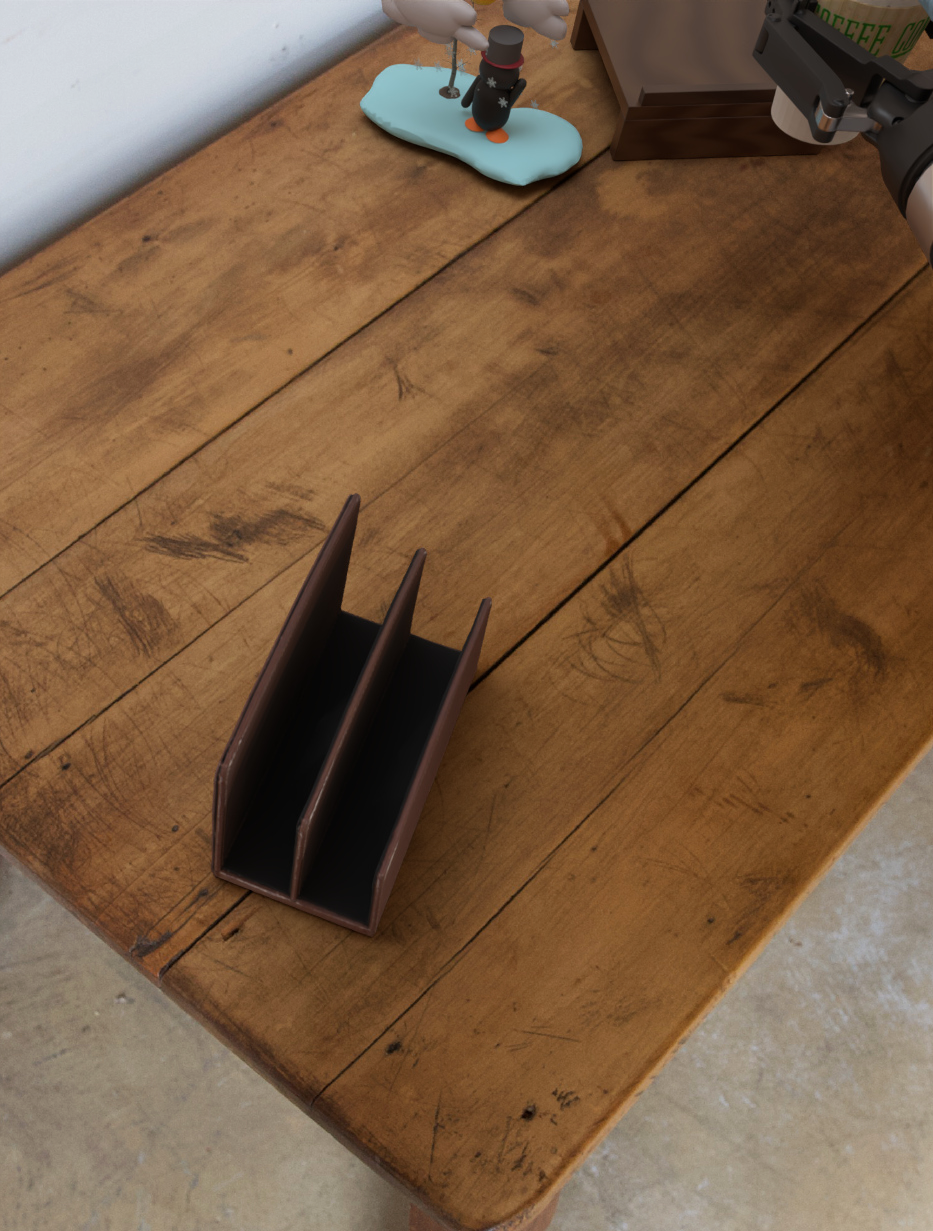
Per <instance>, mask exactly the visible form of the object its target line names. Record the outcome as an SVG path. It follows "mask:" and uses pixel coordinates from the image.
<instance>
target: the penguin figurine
mask: <svg viewBox="0 0 933 1231" xmlns="http://www.w3.org/2000/svg"><path fill="white" fill-rule="evenodd" d="M380 1H381V9H382V13H384V14H385V15H386V16H387V17H388V18H389V19H391V20H393V21H395V22H396V23H399V24H400V25H403V26H407V27H411V28H412V27H413V28H414V27H415V28H417V34H418V35H419V36H420V37H422V38H424V39H426V40H427V41H429V42H430V43H434V44H437V45H443V46H444V47H445V46H446V47H445V50H446V51H444V54H446V55H447V56H449V57H447V58H448V60H449V59H450V57H451V61H448V60H447V62H449V63H450V64H451V68H450V67H449V68H448V67H444V66H443V65H441V63H440V62H441V61H437V62H436V61H434V63H433V64H434V66H423V63H420V58H417V60H416V59H415V58H413V62H414V64H409V63H397V64H392V65H389V66H387V67H386V68H384V69H383V70H382V71H381V72H379V74H378V75H376V77H375V79H374V80H373V83H372V85H371V88H370V89H369V90H368V92H367V93H365V94H364V96H363V97H362V98H361V100H360V101H359V106H360V109H361V111H362V112H363V114H364V115H365V116H366V117H367V118H368V119H369V120H370V121H372V122H373V123H374V124H376V125H377V126H378V127H379V128H381V129H383V131H385V132H387V133H388V134H390V135H392V136H394V137H397V138H399V139H401V140H402V141H406V142H408V143H411V144H414V145H417V146H420V147H424V148H427V149H430V150H432V151H433V150H434V151H436V152H439V153H442V154H445V155H448V156H452V157H454V158H456V159H457V160H459V161H462V162H464V163H466V164H467V165H469V166H470V167H472V168H473V169H474V170H475V171H477V172H479V173H480V174H482V175H483V176H485V177H488V178H490V179H492V180H495V181H498V182H500V183H505V184H507V185H513V186H518V187H519V186H520V187H524V186H527V185H529V184H530V185H531V184H532V183H534V182H537V181H541V180H545V179H550V178H554V177H558V176H560V175H562V174H564V173H566V172H568V171H569V170H570V169H571V168H572V167H574V166H575V165H576V164H577V163H578V162H579V161H580V160H581V159H580V158H582V156H583V154H582V152H583V149H584V146H583V139H582V137H581V135H580V132H579V131H578V129H577V128H576V127H575V126H574V125H573V124H572V123H571V122H569V121H567V120H566V119H564V118H563V117H560V116H559V115H557V114H554V113H552V112H549V111H547V110H542V109H539V108H538V106H540V104H537V99H535V100H534V101H533V100H530V102H531V103H530V106H532V107H513V106H514V105H515V104H516V102H517V101H518V99H519V97H520V96H523V92H524V91H525V89H526V88H527V85H528V82H527V80H526V79H525V78H523V77H522V78H520V72H521V71H522V69H523V65H524V63H525V57H524V55H523V53H522V50H523V45H524V41H525V40H524V39H525V32H524V31H522V29H520V28H519V27H522V28H529V29H530V28H531V29H532V30H533V31H535V32H536V33H537V34H539V35H541V36H543V37H544V38H548V39H549V40H550V43H551V50H552V49H554V48H555V49H558V46H557V45H559V42H558V41H562V40H564V39H565V38H566V35H567V32H568V24H567V22H566V20H564V18H563V17H568V16H569V14H570V6H569V5H570V4H569V3H568V1H567V0H501V1H502V12H503V17H504V19H505V20H506V21H508V22H510V23H512V24H514V25H516V26H514V25H510V24H499V25H496V26H492V27H491V29H489V32H488V36H487V37H488V38H487V37H486V36H485V35H484V34H483V33H482V32H481V31H480V30H478V29H477V28H476V27H475V25H476V22H477V23H479V21H482V20H483V18H481V19H478V15H479V14H478V11H479V9H475V4H476V5H479V6H489V5H492V4H494V3H495V2H496V1H497V0H470V1H471V4H472V5H471V4H469V3H468V2H467V1H465V0H380ZM478 20H479V21H478ZM479 25H480V26H482V23H479ZM517 26H519V27H517ZM458 42H460V43H462V44H464V45H465V46H467V47H468V48H467V50H466V51H468V52H470V54H469V55H470V57H472V55H474V56H477V53H476V52H477V51H478V52H479V51H480V56H481V61H480V62H479V67H478V75H477V76H476V75H473V74H471V73H468V72H467V69H466V68H465V66H466V63H467V64H469V65H471V63H470V62H468V61H465V60H463V59H460V60H457V55H458V56H459V54H460V53H461V52H458V51H457V50H458ZM443 61H444V62H446V59H442V62H443ZM464 61H465V62H464Z"/></svg>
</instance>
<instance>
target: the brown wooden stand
mask: <svg viewBox="0 0 933 1231" xmlns="http://www.w3.org/2000/svg"><path fill="white" fill-rule="evenodd" d="M766 4H767V0H579V1H578V6H577V10H576V13H575V19H574V22H573V26H572V31H571V35H570V39H569V40H570V44H571V46H572V49H573V50H574V51H575V50H576V51H577V50H579V51H580V50H598V51H599V54H600V57H601V59H602V62H603V64H604V68H605V70H606V72H607V75H608V78H609V81H610V84H611V86H612V89H613V92H614V94H615V96H616V100H617V102H618V104H619V105H618V106H619V107H620V111H619V114H618V118H617V121H616V124H615V129H614V132H613V136H612V139H611V143H610V146H609V152H610V155H611V158H612V160H613V161H637V160H638V161H639V160H640V161H641V160H643V161H644V160H668V159H669V160H670V159H673V160H674V159H697V158H699V159H700V158H730V157H731V158H733V157H760V156H762V157H763V156H789V155H790V156H793V155H819V154H820V153H821V150H822V147H823V146H824V145H819V144H812V143H808V142H804V141H801V140H799V139H796V138H794V137H792V136H790V135H788V134H786V133H785V132H784V131H782V130H781V129H780V128H779V127H778V126H777V125H776V124H775V122H774V120H773V119H772V115H771V108H772V104H773V100H774V97H775V93H776V89H777V84H776V83H775V82H774V81H773V79H772V78H771V77H770V76H769V75H768V74H767V72H766V71H765V70H764V69H763V68H762V67H761V65H760V64H759V63H758V62H757V61H756V60H755V59H754V57H753V56H752V53H753V50H754V47H755V44H756V42H757V39H758V36H759V33H760V31H761V28H762V25H763V22H764V20H765V17H766V15H765V13H764V11H765V7H766Z"/></svg>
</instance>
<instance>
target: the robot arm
mask: <svg viewBox="0 0 933 1231" xmlns="http://www.w3.org/2000/svg"><path fill="white" fill-rule="evenodd" d="M918 1H919V2H920V4H921V5H922V6H923V8H924V9H925V11H926V12H927V14H928V15H929V17H930V19H931V20H930V22H929V23H928V25H927V26H926V28H925V30H924V32H925V33H926V35H927V37H928V38H929V40H933V0H918ZM817 4H818V1H817V0H767V4H766V7H765V11H764V13H765V15H766V17H765V20H764V22H763V25H762V28H761V31H760V33H759V36H758V39H757V42H756V44H755V47H754V50H753V53H752V56H753V57H754V59H755V60H756V61H757V62H758V63H759V64H760V65H761V67H762V68H763V69H764V70H765V71H766V72H767V74H768V75H769V76H770V77H771V78H772V79H773V81H774V82H775V83H776V84H777V85H778V86H779V87H780V89H781V90H782V91H783V92H784V93H785V94H786V96H787V97H788V98H789V99H790V100H791V101H792V102H793V104H794V105H795V106H796V107H797V108H798V109H799V111H800V112H801V113H802V114H803V115H804V116H805V118H806V119H807V120H808V123H809V127H810V130H811V134H812V137H813V139H814V140H816V141H817V142H820V143H829V142H831V141H832V140H833V138H834V135H835V133H836V131H848V132H859V134H860V136H861V137H862V139H864V140H865V141H866V142H867V143H868V144H870V145H871V146H873V147H874V148H875V149H876V150H877V151H878V155H879V164H880V171H881V177H882V180H883V183H884V186H885V187H886V190H887V191H888V193H889V195H890V196H891V198H892V200H893V202H894V204H895V205H896V207H897V209H898V211H899V213H900V215H902V217H903V219H904V220H905V221H906V224H907V225H908V227H909V229H910V231H911V233H912V235H913V236H914V238H915V241H916V242H917V244H918V245H919V247H920V249H921V251H922V253H923V255H924V256H925V258H926V260H927V262H928V264H929V266H930V268H931V270H932V271H933V68H930V69H925V70H919V69H918V70H916V69H910V68H908V67H907V66H905V65H904V64H903V65H902V64H901V63H899V62H898V61H896V60H895V59H894V58H892V57H891V56H889V55H884V56H881V57H878V58H877V57H876V56H874V55H873V54H871V53H870V52H868V51H867V50H866V49H864V48H863V47H861V46H860V45H858V44H857V43H856V42H854V41H853V40H851V39H850V38H848V37H847V36H845V35H844V34H843V33H841V32H840V31H838V30H837V29H835V28H834V27H833V26H831V25H830V24H828V23H827V22H825V21H824V20H823V19H821V18H820V17H818V16H817V15H815V14H814V12H815V9H816V7H817ZM883 79H885V80H884V81H883ZM882 81H883V83H882ZM881 83H882V84H881ZM880 85H881V86H880ZM879 87H880V88H879ZM878 89H879V90H878Z"/></svg>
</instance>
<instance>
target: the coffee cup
mask: <svg viewBox="0 0 933 1231" xmlns="http://www.w3.org/2000/svg"><path fill="white" fill-rule="evenodd" d="M817 1H818V4H817V7H816V9H815V12H814V14H815V15H817V16H818V17H820V18H821V19H823V20H824V21H825V22H827V23H828V24H830V25H831V26H833V27H834V28H835V29H837V30H838V31H840V32H841V33H843V34H844V35H845V36H847V37H848V38H850V39H851V40H853V41H854V42H856V43H857V44H858V45H860V46H861V47H863V48H864V49H866V50H867V51H868V52H870V53H871V54H873V55H874V56H876V57H877V58H878V57H881V56H884V55H889V56H891V57H892V58H894V59H895V60H896V61H898V62H899V63H901V64H902V65H904V64H905V62H906V61H907V59H908V58H909V57H910V54H911V53H912V51H913V49H914V48H915V47H916V44H917V43H918V42H919V39H920V38H921V36H922V35H923V33H924V32H925V28H926V26H927V25H928V23H929V22H930V20H931V19H930V17H929V15H928V14H927V12H926V11H925V9H924V8H923V6H922V5H921V4H920V2H919V1H918V0H817ZM884 80H885V79H883V81H884ZM883 81H882V83H883ZM882 83H881V84H882ZM880 86H881V85H880ZM879 88H880V87H879ZM878 90H879V89H878ZM771 115H772V119H773V120H774V122H775V124H776V125H777V126H778V127H779V128H780V129H781V130H782V131H784V132H785V133H786V134H788V135H790V136H792V137H794V138H796V139H799V140H801V141H804V142H808V143H812V144H819V145H823V146H834V145H835V146H836V145H841V144H845V143H847V142H849V141H850V142H851V141H852V140H853V139H855V138H857V137H858V135H859V134H860V132H848V131H836V133H835V135H834V138H833V140H832V141H831V142H829V143H820V142H817V141H816V140H814V139H813V137H812V134H811V130H810V127H809V123H808V120H807V119H806V118H805V116H804V115H803V114H802V113H801V112H800V111H799V109H798V108H797V107H796V106H795V105H794V104H793V102H792V101H791V100H790V99H789V98H788V97H787V96H786V94H785V93H784V92H783V91H782V90H781V89H780V87H779V86H778V85H777V89H776V93H775V97H774V100H773V104H772V108H771Z"/></svg>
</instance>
